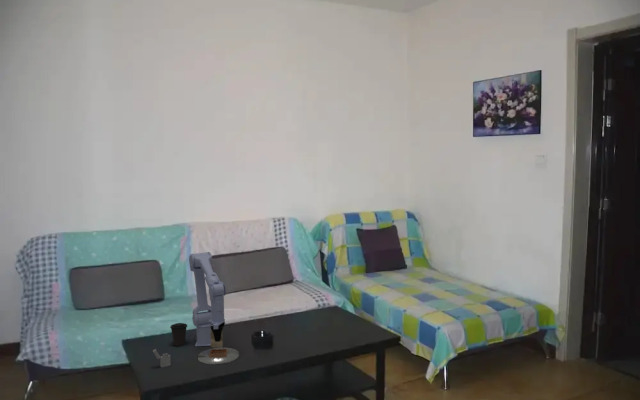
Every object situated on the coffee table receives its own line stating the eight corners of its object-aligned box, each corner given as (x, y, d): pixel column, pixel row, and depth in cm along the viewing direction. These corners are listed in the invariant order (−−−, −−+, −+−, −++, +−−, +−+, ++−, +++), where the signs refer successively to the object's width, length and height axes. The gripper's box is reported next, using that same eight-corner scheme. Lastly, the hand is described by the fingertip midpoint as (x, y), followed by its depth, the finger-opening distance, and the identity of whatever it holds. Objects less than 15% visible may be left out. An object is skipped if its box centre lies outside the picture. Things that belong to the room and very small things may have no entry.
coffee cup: (183, 347, 242) (182, 327, 241) (167, 346, 244) (166, 326, 243) (190, 342, 250) (190, 322, 249) (175, 341, 252) (175, 321, 251)
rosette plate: (201, 350, 239) (201, 345, 239) (240, 348, 240) (240, 343, 240) (194, 365, 221) (194, 359, 221) (236, 363, 222) (236, 358, 222)
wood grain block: (211, 345, 231) (211, 330, 231) (222, 344, 232) (222, 329, 231) (210, 347, 228) (210, 332, 228) (222, 347, 229) (221, 331, 228)
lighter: (170, 364, 222) (169, 346, 222) (170, 365, 221) (170, 347, 220) (153, 367, 219) (152, 349, 218) (153, 368, 217) (153, 350, 217)
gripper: (210, 306, 236) (211, 334, 237) (206, 315, 221) (206, 345, 222) (226, 305, 236) (226, 334, 237) (222, 314, 222) (223, 345, 223)
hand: (218, 340), depth 230 cm, fingers closed on wood grain block, 3 cm apart
